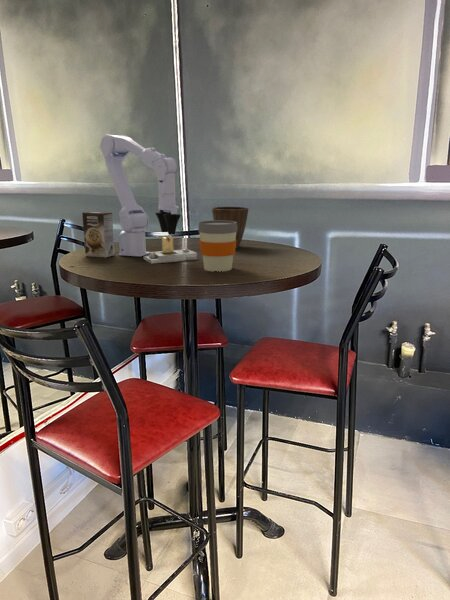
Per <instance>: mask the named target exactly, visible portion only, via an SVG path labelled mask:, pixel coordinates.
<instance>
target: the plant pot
mask: <svg viewBox="0 0 450 600" xmlns="http://www.w3.org/2000/svg"><path fill="white" fill-rule="evenodd" d="M211 214H212V219H213V220H224V221H235V222H237V232H236V240H237V241H236V249H239V248H240V245H241V243H242V240H243V236H244V233H245V229H246V227H247V221H248V215H249V207H245V206H244V207H243V206H216V207H212V208H211Z"/></svg>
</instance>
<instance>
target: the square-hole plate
mask: <svg viewBox="0 0 450 600" xmlns="http://www.w3.org/2000/svg"><path fill="white" fill-rule="evenodd" d="M173 251H174V254H167V255H164V254H162V250H161V251H148V252H149V254H148V255H144V256H143V260H145V262H147V263H149V264H152V265H153V264H163V263H175V262H184V261H197V260H198V252H196V251H194V250H191V249H189V248H182V249H173Z"/></svg>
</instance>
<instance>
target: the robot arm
mask: <svg viewBox="0 0 450 600" xmlns="http://www.w3.org/2000/svg"><path fill="white" fill-rule="evenodd" d="M99 147H100V151H101V152H102V156H103V157H104V164H105V166H106V169H107V171H108V172H107V173H108V175H109V177H110V180H111V182H112V184H113V187H114V189H115V192H116V195H117V198H118V201H119V203H120V206H121V209H120V210H119V211H118V216H119V224H120V226H121V228H122V231H120V233H119V234H118V235H119V236H118V245H119V247H118V248H119V253H118V256H127V257H130V256H131V257H142V256H143V257H144V256H147V255H149V252H150V251H147V246H146V231H147V228H148V226H149V225H150V218H149V215H148V214H147V213H146V212H145V211H144V207H143V206H141V205H139V204H138V203H137V201H136V199H135V195H134V194H133V191H132V188H131V186H130V184H129V181H128V177H127V176H126V173H125V169H124V167H123V165H122V163H123V162H124V161H125V160H126V158H127V156H128V154H129V153H130V154H131V153H132V154H133V155H135V156H138V157H139V158H140V160H141V162H142V163H143V164H145V165H146V166H147V167H148V168H151V169H153V170H154V172H155V174H156V180H157V185H158V187H157V189H158V206H157V208H158V211H157V212H155V216H156V217H157V220H158V223H159V226H160V230H161V232H162V233H167V234H168V235H169V236H171V235H174V236H175V235H176V231H177V226H178V222H179V220H180V218H181V214H178V209H180V207H179V206H178V205H176V175H175V174H177V172H178V170H179V163H178V161H177V160H176V159H175V158H174V157H170V156H169V157H167V156H166V154H164V153H161V152H158V151H156V150H157V149H156V148H155V147H147V148H145V147H143V146H142V145H140V144H139V143H138V142H137V141H135V140H133V138H132V137H129V136H127V135H116V134H109V133H106V134H103V135H102V137H101V140H100V145H99Z"/></svg>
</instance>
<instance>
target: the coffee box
mask: <svg viewBox="0 0 450 600" xmlns="http://www.w3.org/2000/svg"><path fill="white" fill-rule="evenodd" d="M81 214H82V227H83V238H84V239H83V241H84V252H85V257H92V258H93V257H94V258H95V257H96V258H105V259H106V258H108V257H111V256H115V242H114V240H115V239H114V221H113V212H109V211H108V212H107V211H83V212H82V213H81Z"/></svg>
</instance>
